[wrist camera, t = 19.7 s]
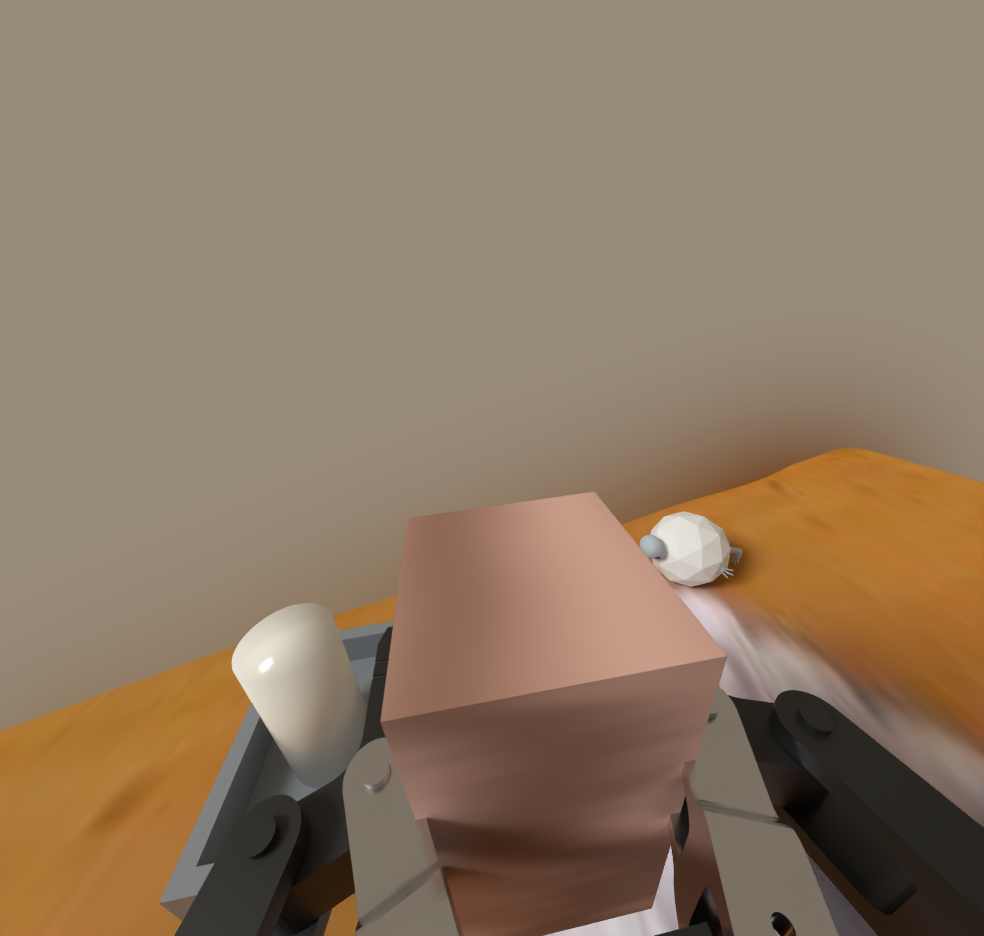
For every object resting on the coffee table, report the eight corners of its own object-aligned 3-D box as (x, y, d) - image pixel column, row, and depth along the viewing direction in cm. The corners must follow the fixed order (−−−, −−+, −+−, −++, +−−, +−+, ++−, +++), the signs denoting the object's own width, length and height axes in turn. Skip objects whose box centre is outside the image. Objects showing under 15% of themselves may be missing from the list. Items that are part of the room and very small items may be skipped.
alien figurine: (689, 556, 42) (606, 553, 37) (718, 502, 39) (632, 492, 35) (748, 603, 35) (656, 606, 31) (787, 542, 33) (692, 536, 28)
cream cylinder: (378, 698, 27) (342, 596, 22) (366, 779, 22) (318, 672, 18) (308, 710, 26) (257, 610, 22) (281, 796, 22) (211, 691, 17)
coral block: (583, 714, 14) (594, 491, 10) (651, 908, 10) (727, 655, 5) (455, 739, 14) (407, 518, 9) (464, 954, 9) (380, 722, 5)
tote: (549, 624, 32) (549, 595, 31) (620, 833, 20) (625, 801, 18) (294, 668, 30) (280, 640, 29) (193, 929, 18) (158, 903, 16)
